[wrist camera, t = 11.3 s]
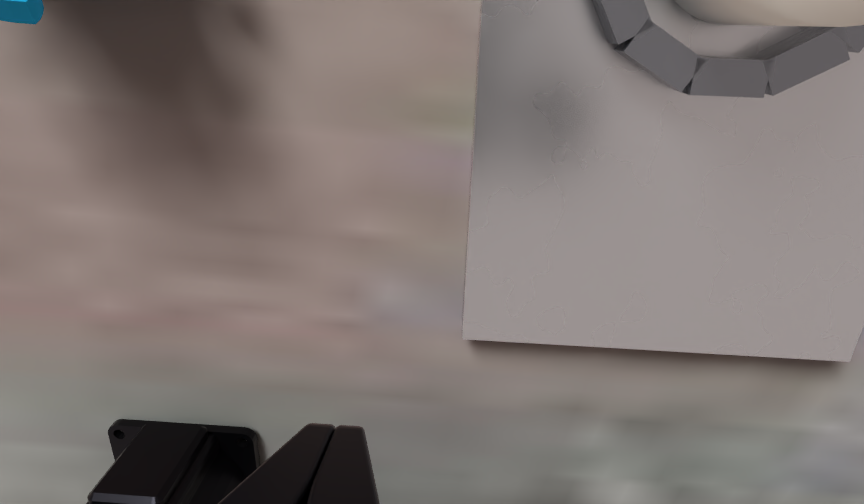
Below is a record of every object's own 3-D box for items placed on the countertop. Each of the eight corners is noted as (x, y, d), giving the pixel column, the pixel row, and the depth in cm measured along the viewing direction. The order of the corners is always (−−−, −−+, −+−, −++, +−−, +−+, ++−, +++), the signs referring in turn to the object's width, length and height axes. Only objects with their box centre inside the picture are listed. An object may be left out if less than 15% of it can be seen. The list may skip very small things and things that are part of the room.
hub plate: (829, 343, 21) (871, 382, 19) (462, 322, 22) (461, 357, 20) (1050, -263, 14) (1158, -315, 12) (496, -268, 15) (502, -318, 12)
